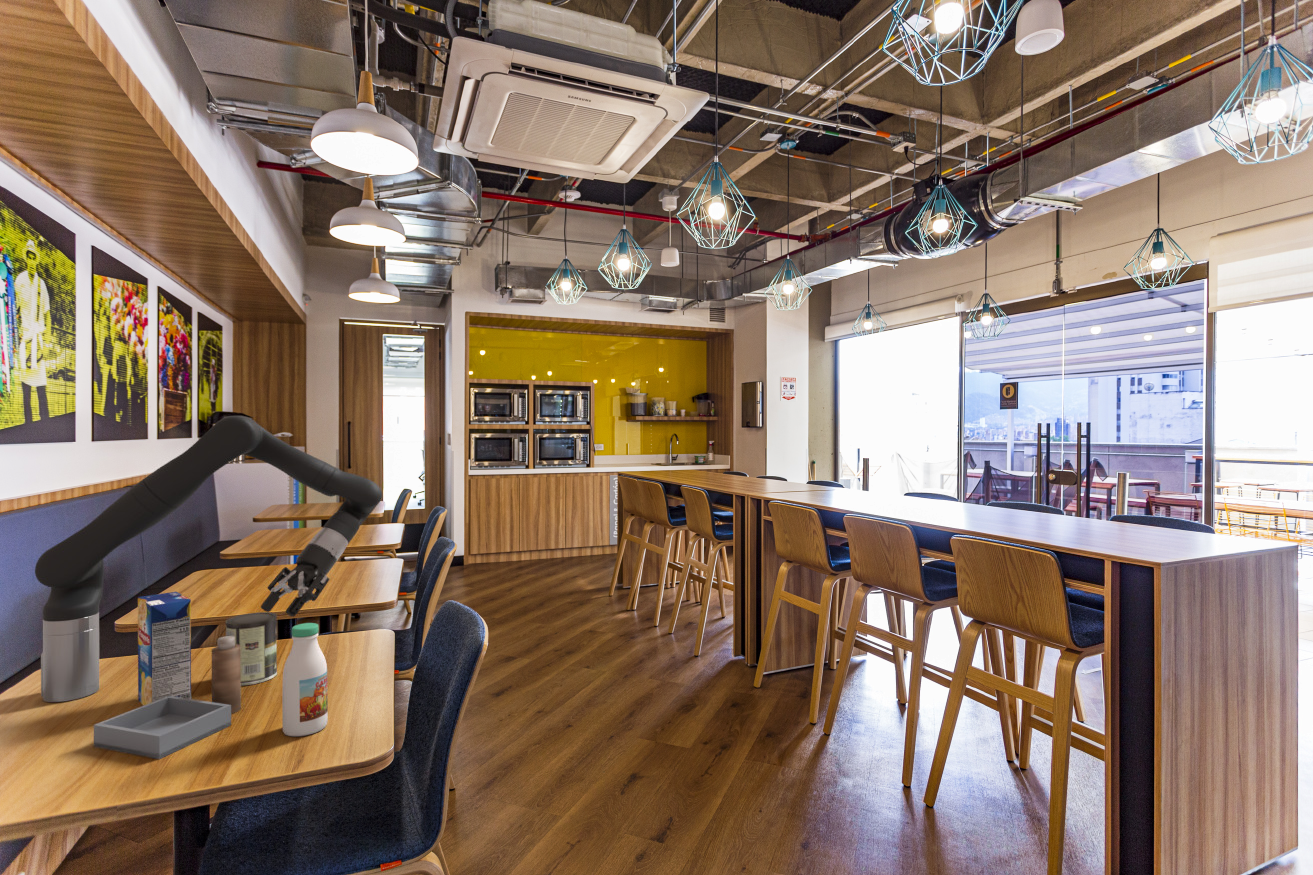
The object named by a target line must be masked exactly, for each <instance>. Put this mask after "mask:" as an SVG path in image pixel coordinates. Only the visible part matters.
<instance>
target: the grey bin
mask: <svg viewBox="0 0 1313 875" xmlns="http://www.w3.org/2000/svg"><path fill="white" fill-rule="evenodd" d="M230 726H232V714H231V705H228V704H221V703H214V702H212V701H208V700H207V701H206V700H201V699H193V698H191V699H188V698H181V697H174V696H168V697H165V698H162V699H160V700H157V701H155V702H152V703H149V704H147V705H142V706H139V707H136V708H134V709H132V710H129V711H125V712H124V713H121V714H118V715H116V716H113V717H111V718H108V719H106V720H103V721H100V722H98V723H96V724H93V748H97V749H98V748H99V749H102V748H103V750H110V751H113V750H114V751H115V752H120V753H125V754H131V755H136V756H141V757H145V756H146V757H147V758H152V759H156V760H160V759H163V758H165V757H167V756H169V755H172V754H173V753H176V752H178V751H180V750H182V749H184V748H186V747H188V746H190V745H192V744H194V743H197V742H199V741H201V740H203V739H205V738H207V737H209V736H212V735H214V734H216V733H219V732H220V731H222V730H224V729H227V728H229V727H230Z"/></svg>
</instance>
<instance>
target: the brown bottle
mask: <svg viewBox="0 0 1313 875" xmlns="http://www.w3.org/2000/svg"><path fill="white" fill-rule="evenodd" d="M216 641H217V642H216V643H217V646H214V647H213V648H211V702H214V703H221V704H228V705H231V715H233V714H235V713H237V712H239V711H240V710H241V709H242V708H241V706H242V704H241V703H242V694H241V693H242V692H241V690H242V686H241V646H240V645H239V644H235V637H234V636H226V635H225V636H220V637H219V638H218V639H217V640H216Z"/></svg>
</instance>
